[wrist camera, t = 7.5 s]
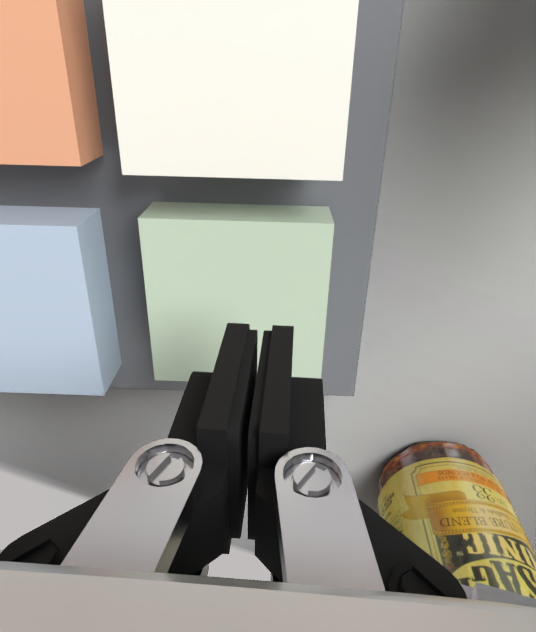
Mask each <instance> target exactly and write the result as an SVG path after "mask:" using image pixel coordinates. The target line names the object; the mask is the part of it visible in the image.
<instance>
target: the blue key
mask: <svg viewBox="0 0 536 632" xmlns="http://www.w3.org/2000/svg"><path fill="white" fill-rule="evenodd" d="M121 364H122V363H121V356H120V349H119V342H118V334H117V327H116V320H115V313H114V306H113V299H112V292H111V285H110V277H109V270H108V263H107V256H106V249H105V242H104V235H103V228H102V220H101V213H100V208H76V207H41V206H6V205H0V392H11V393H40V394H68V395H97V396H105V394H106V392H107V390H108V388H109V386H110V385H111V383H112V381H113V379H114V377H115V375H116V373H117V372H118V370H119V368H120V366H121Z"/></svg>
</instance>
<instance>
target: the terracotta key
mask: <svg viewBox="0 0 536 632" xmlns="http://www.w3.org/2000/svg"><path fill="white" fill-rule="evenodd" d="M102 155H104V154H103V147H102V139H101V131H100V123H99V116H98V108H97V100H96V93H95V85H94V77H93V70H92V62H91V54H90V47H89V39H88V31H87V24H86V16H85V8H84V0H0V164H9V165H46V166H83V165H85V164H87V163H89V162H91V161H93V160H95V159H97V158H99V157H100V156H102Z"/></svg>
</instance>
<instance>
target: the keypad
mask: <svg viewBox="0 0 536 632" xmlns="http://www.w3.org/2000/svg"><path fill="white" fill-rule="evenodd" d="M403 4H404V0H359V5H358V16H357V27H356V38H355V49H354V60H353V71H352V82H351V93H350V104H349V115H348V126H347V137H346V148H345V159H344V170H343V181H327V180H291V179H254V178H218V177H182V176H145V175H122V168H121V160H120V151H119V142H118V134H117V125H116V116H115V108H114V99H113V90H112V82H111V73H110V64H109V55H108V47H107V38H106V29H105V21H104V12H103V3H102V0H84V8H85V16H86V24H87V31H88V39H89V47H90V54H91V62H92V70H93V77H94V85H95V93H96V100H97V108H98V116H99V123H100V131H101V139H102V147H103V154H104V155H102V156H100V157H99V158H97V159H95V160H93V161H91V162H89V163H87V164H85V165H83V166H46V165H9V164H0V205H6V206H41V207H76V208H100V213H101V220H102V228H103V235H104V242H105V249H106V256H107V263H108V270H109V277H110V285H111V292H112V299H113V306H114V313H115V320H116V327H117V334H118V342H119V349H120V356H121V363H122V364H121V366H120V368H119V370H118V372H117V373H116V375H115V377H114V379H113V381H112V383H111V385H110V386H109V388H132V389H161V390H185V389H186V386H187V383H188V381H163V380H155V378H154V368H153V359H152V349H151V340H150V330H149V321H148V311H147V302H146V292H145V283H144V273H143V264H142V254H141V244H140V235H139V225H138V217H139V216H140V215H141V214H142V213H143V212H144V211H145V210H146V209H147V208H148V207H149V206H150V205H151V203H152V202H186V203H221V204H256V205H292V206H327V207H329V208H330V211H331V215H332V218H333V221H334V234H333V246H332V258H331V269H330V281H329V292H328V304H327V315H326V327H325V338H324V350H323V362H322V373H321V379H322V380H323V395H336V396H354V391H355V383H356V375H357V367H358V359H359V351H360V343H361V335H362V327H363V320H364V312H365V304H366V296H367V288H368V280H369V272H370V264H371V256H372V249H373V241H374V233H375V225H376V217H377V209H378V201H379V193H380V185H381V178H382V170H383V162H384V154H385V146H386V138H387V130H388V122H389V114H390V107H391V99H392V91H393V83H394V75H395V67H396V59H397V51H398V43H399V36H400V28H401V20H402V12H403Z"/></svg>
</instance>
